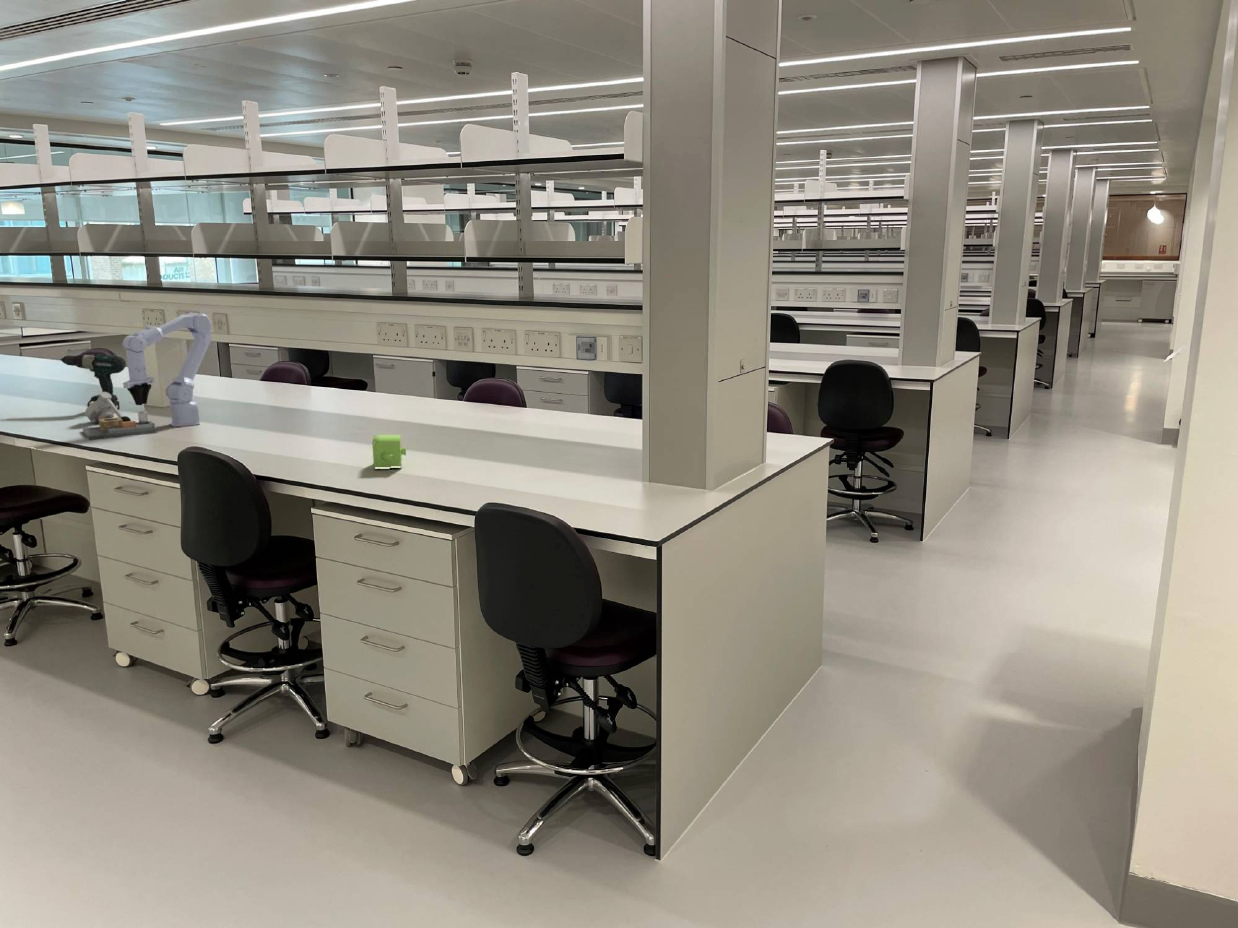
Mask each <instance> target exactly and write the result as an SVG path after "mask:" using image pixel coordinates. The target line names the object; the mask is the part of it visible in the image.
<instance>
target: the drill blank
mask: <svg viewBox="0 0 1238 928" xmlns="http://www.w3.org/2000/svg"><path fill="white" fill-rule="evenodd" d="M137 417H138V422H139V425H140V424H148V421H149V419H148V411H147V410H138V411H137Z"/></svg>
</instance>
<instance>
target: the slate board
mask: <svg viewBox="0 0 1238 928" xmlns="http://www.w3.org/2000/svg"><path fill="white" fill-rule="evenodd" d="M135 422H136V425H135V426H133V427H122V426H113V427H107V430H102V429H101V428H100V427H99V426H94V427H84V428H82V432H83V434H84V435H85V437H87V439H88V440H89V441H91V440H99V439H108V438H109V439H110V438H118V437H119V438H120V437H128V436H137V435H148V434H157V433H158V430H157V428H156V427H155V426H156V425H155V422H153V421H152V420H148V424H140V425H139V421H135Z"/></svg>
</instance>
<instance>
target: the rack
mask: <svg viewBox="0 0 1238 928" xmlns="http://www.w3.org/2000/svg"><path fill="white" fill-rule="evenodd" d="M122 422H123V420H122V419H121V418H120V417H118V416H117V417H113V418H106V419H99V422H98V424H99V425H98V427H100V428H101V429H102V430H107V427H113V426H122Z"/></svg>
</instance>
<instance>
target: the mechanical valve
mask: <svg viewBox="0 0 1238 928" xmlns="http://www.w3.org/2000/svg"><path fill="white" fill-rule="evenodd" d="M98 395H99V397H98V400H97V401H95V402H93V401H92V402H90V403H89V406H88V407H86V409H85V412H84V415H85V416H86V418H88V420H89V421H90V422H92V424H96V423H99V419H106V418H115V415H114V414H116V416H117V417H120V418H121V419H122V420H123V422H128V421H132V419H131V418H130V417H129V416H126V415H123V414H122V413H121V412H120V411H119V410H118V409H117V408H116V407H115V405H114V404H113V403H112V401H111V395H110V394H109V393H107V392H102V391H101V392H99V393H98Z"/></svg>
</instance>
